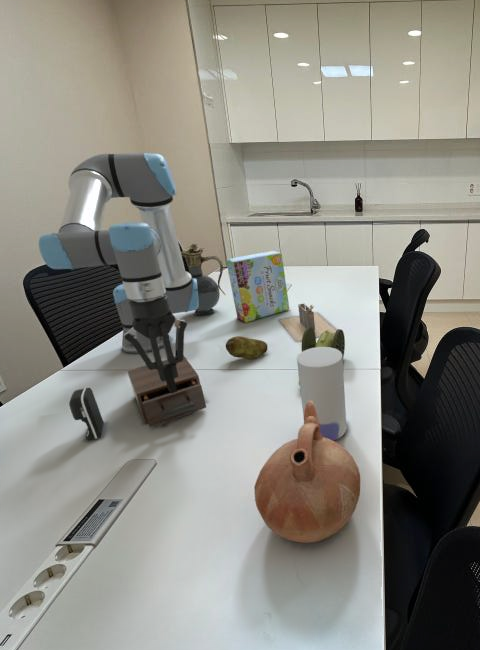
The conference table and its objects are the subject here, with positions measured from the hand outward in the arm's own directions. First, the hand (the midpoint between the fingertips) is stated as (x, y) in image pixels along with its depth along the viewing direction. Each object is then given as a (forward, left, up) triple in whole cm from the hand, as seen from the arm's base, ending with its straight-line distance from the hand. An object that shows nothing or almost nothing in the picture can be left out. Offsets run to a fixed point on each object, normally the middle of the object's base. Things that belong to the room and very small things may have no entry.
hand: (172, 390), depth 93 cm
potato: (-25, +27, -10) cm, 38 cm away
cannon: (-2, +41, -10) cm, 42 cm away
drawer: (-7, 0, -9) cm, 11 cm away
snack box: (-62, +48, -10) cm, 79 cm away
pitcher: (-81, +30, -10) cm, 87 cm away
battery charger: (-10, -18, -10) cm, 23 cm away
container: (+25, +27, -10) cm, 38 cm away
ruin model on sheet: (-37, +56, -10) cm, 68 cm away
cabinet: (-14, 0, -10) cm, 17 cm away
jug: (+45, +12, -10) cm, 48 cm away
